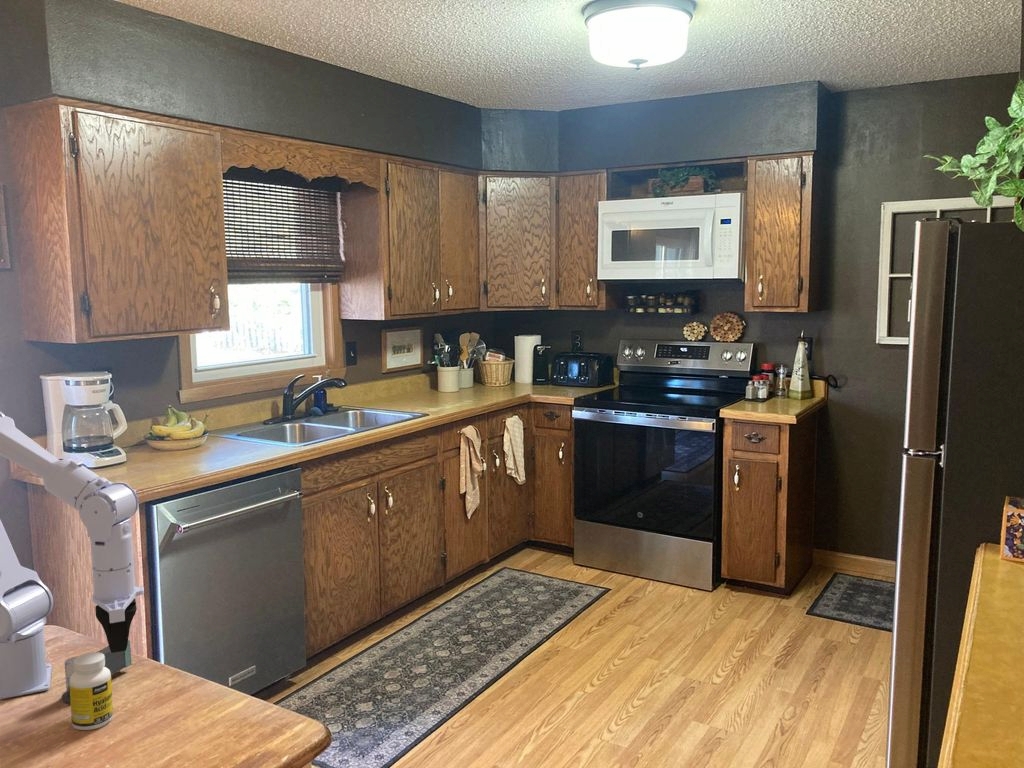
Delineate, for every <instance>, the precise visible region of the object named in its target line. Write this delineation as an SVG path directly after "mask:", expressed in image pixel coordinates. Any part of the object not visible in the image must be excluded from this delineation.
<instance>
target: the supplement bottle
mask: <svg viewBox="0 0 1024 768" xmlns="http://www.w3.org/2000/svg"><path fill="white" fill-rule="evenodd" d="M76 657H77V656H76ZM104 666H105V656H104V654H103V653H99V652H98V651H96V652H95V651H92V652H87V653H83V654H81V655H78V657H77V658H75V660H74V670H75V673H73V674H72V676H71V677H70V682H69V685H70V702H71V704H70V713H71V714H70V715H71V724H72V728H74V729H76V730H79V731H91V730H95V729H99V728H102V727H104V726H105V725H107V724H109V723H110V721H111V720H112V719H113V717H114V716H113V715H114V708H113V707H114V706H113V688H112V675H111V672H110V670H109V669H108V668H106V667H104Z"/></svg>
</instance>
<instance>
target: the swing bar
mask: <svg viewBox="0 0 1024 768" xmlns="http://www.w3.org/2000/svg"><path fill="white" fill-rule="evenodd" d="M131 649H132V648H131V640H130V639H128V644H127V649H126V650H125V651H120V652H115V653H111V650H110V648H109V645H107V646H106V647H104V648H101V649H100V650H97V652H99V653H103V654H104V656H105V666H104V667H106V668H108V669H109V670H110V672H111V676H112V675H114V674H116V673H118V672H119V671H121V670H124V669H127V668H129V667H130V666H132V664H133V663H132V650H131ZM78 656H79V655H78ZM78 656H72V657H70V658H67V659H66V660H65V661H64V672H65V674H64V675H65V686H66V691H67V695H68V696H70V685H69V682H70V677H71V676H72V674H73V673H75V670H74V660H75V658H77V657H78Z"/></svg>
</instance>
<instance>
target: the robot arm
mask: <svg viewBox="0 0 1024 768" xmlns="http://www.w3.org/2000/svg"><path fill="white" fill-rule="evenodd" d="M0 456H1V457H2V458H4V459H6V460H9V461H11V462H12V463H14V464H15V465H17V466H20V468H23V469H25V470H27V471H29V472H31V473H33V474H34V475H36V476H38V477H40V478H41V479H43V480H42V481H43V486H44V489H45V490H46V491H47V492H48V493H50V494H51V495H53V496H54V497H56V498H57V499H59V500H61V501H62V502H64V503H66V505H69V506H71V507H72V508H73V509H75V510H76V511H78V516H79V519H80V521H81V522H82V523H83V525H84V526H85V527H86V530H87V537H88V538H89V540H90V550H91V551H90V552H91V554H90V555H91V562H92V563H91V568H92V583H93V595H92V602H93V603H94V604H96V605H95V617H96V619H97V621H98V622H99V623H100V625H101V627H102V628H103V630H104V631H103V632H104V634H105V636H106V640H107V644H108V645H107V646H109V648H110V650H111V653H115V652H120V651H125V650H126V649H127V644H128V640H129V638H130V637H129V636H130V629H131V624H132V622H133V620H134V617H135V616H136V614H137V608H138V607H137V600H136V598H137V597H138V596H142V595H144V594H145V588H144V586H136V575H135V559H134V555H135V554H134V545H133V544H134V541H133V525H132V517H133V516H134V515H135V514H136V513H137V511H138V510H139V506H140V505H139V497H138V494H137V492H136V491H135V490H134V489H133V488H132V487H131V486H130V485H129V483H127V482H124V481H116V482H112V481H110V480H109V479H107V478H106V477H102V476H100V475H98V474H97V473H96V472H94V471H92V470H91V469H89V468H88V467H86V466H84V462H83V461H81V460H80V459H79V458H75V459H73V458H69V457H68V458H63V459H58V458H57V457H56V456H55V455H53V453H50V451H48V450H47V449H46V448H44V447H43V446H41V444H40V445H39V444H38V443H37V442H36V441H34V440H33V439H32V438H30V437H29V436H27V434H25V433H23V432H22V431H21V430H20V429H18V428H17V427H16V424H15V421H14V419H13V418H12V417H10V416H7V415H5V414H4V413H3V412H2V411H0ZM9 590H10V591H9ZM7 591H8V592H7ZM6 592H7V593H6ZM53 608H54V597H53V593H52V591H51V590H50V589H49V587H48V586H47V585H46V584H45V583H43V582H42V580H41V578H40V577H39V575H38V572H36V570H33V569H31V568H28V567H25V566H22V565H21V564H20V561H19V559H18V557H17V554H16V551H14V548H13V545H12V543H11V541H10V538H9V536H8V534H7V531H6V529H5V527H4V524H3V522H2V519H0V700H4V699H9V698H14V697H20V696H24V695H29V694H34V693H40V692H45V691H48V690H49V689H50V688H51V678H52V677H51V676H52V667H53V665H52V663H50V662H48V663H47V656H46V655H47V654H46V652H47V651H46V642H45V628H44V627H45V624H47V616H49V614H50V613H52V611H53Z"/></svg>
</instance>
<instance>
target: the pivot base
mask: <svg viewBox="0 0 1024 768" xmlns="http://www.w3.org/2000/svg"><path fill="white" fill-rule="evenodd" d="M61 702H62V703H64V704H66V705H71V702H70V696H68V695H67V690H66V691H65V692H63V693H62V695H61Z"/></svg>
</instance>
